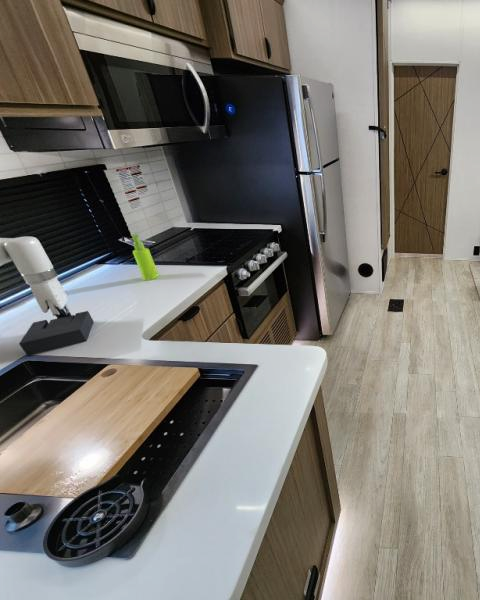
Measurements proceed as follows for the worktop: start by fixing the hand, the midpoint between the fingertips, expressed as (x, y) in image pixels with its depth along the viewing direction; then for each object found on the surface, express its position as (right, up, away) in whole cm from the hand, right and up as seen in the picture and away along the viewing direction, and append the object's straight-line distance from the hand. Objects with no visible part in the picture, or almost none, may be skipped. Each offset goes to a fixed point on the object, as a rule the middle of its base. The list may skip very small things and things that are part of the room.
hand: (68, 323), depth 114 cm
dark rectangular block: (+4, -4, -6) cm, 8 cm away
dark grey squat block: (+3, -3, -4) cm, 5 cm away
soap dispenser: (+2, +19, +36) cm, 41 cm away
